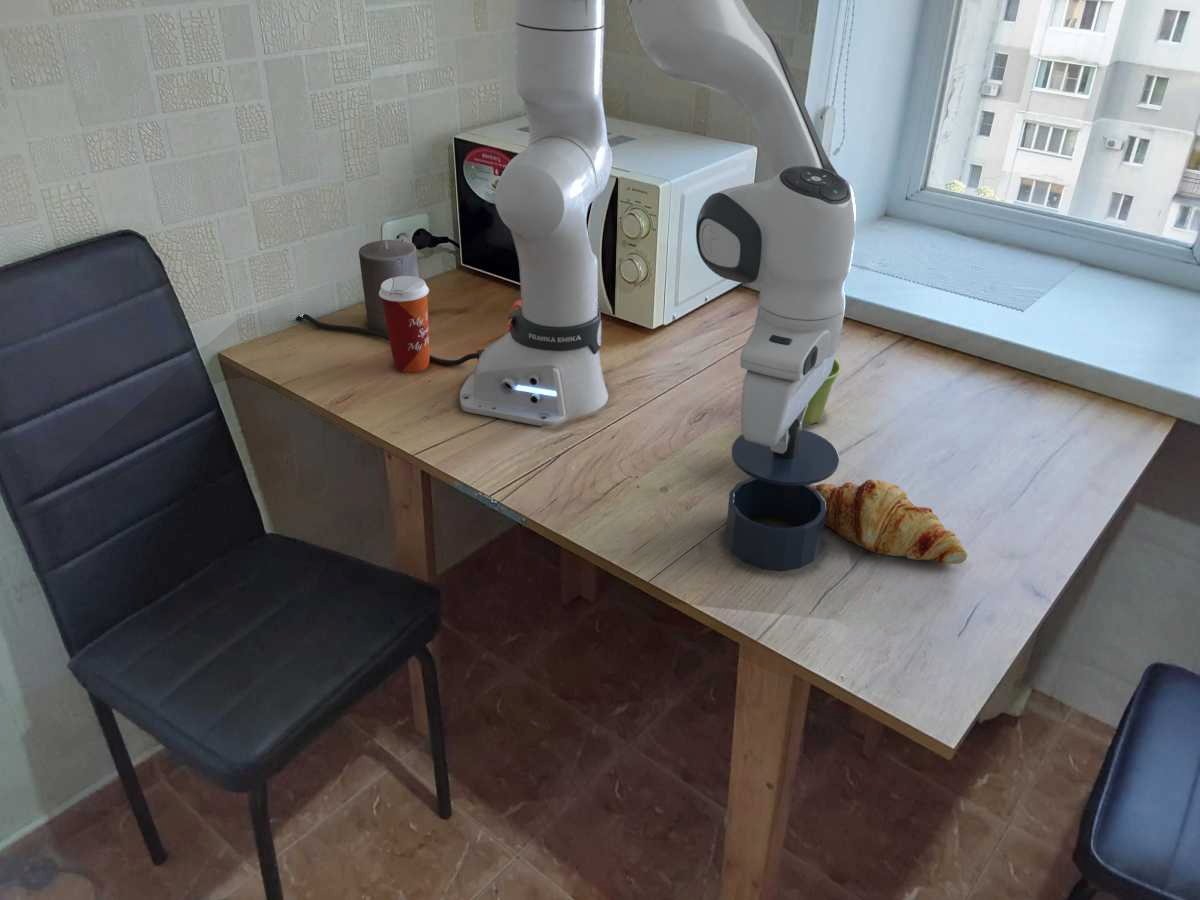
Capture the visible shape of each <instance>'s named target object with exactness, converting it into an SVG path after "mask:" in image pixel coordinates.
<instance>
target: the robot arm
mask: <svg viewBox="0 0 1200 900" xmlns="http://www.w3.org/2000/svg"><path fill="white" fill-rule="evenodd" d="M626 1H627V5H628V9H629V12H630V15H631V19H632V23H633V27H634V30H635V34H636V36H637V38H638V41H639V43H640V45H641V47H642V49H643V51H644V52H645V54H646V56H647V57H648V59H649V61H650V62H651V63H652V64H653V65H654V66H656V67H657V68H658V69H660V70H661V71H662V72H664V73H666V74H667V75H668V76H671V77H673V78H675V79H678V80H680V81H683V82H686V83H691V84H695V85H698V86H702V87H705V88H708V89H711V90H713V91H716V92H718V93H721V94H723V95H724V96H727V97H729V98H730V99H732V100H733V101H734V102H736V103H738V105H740V106H741V107H742V109H743V110H744V111H745V112H746V113H747V115H748V117H749V118H750V120H751V123H752V125H753V127H754V129H755V132H756V134H757V136H758V138H759V141H760V143H761V145H762V148H763V150H764V152H765V155H766V157H767V159H768V162H769V164H770V166H771V168H772V171H773V173H774V175H775V176H774V177H772V178H769V179H767V180H764V181H760V182H751V183H747V184H741V185H737V186H732V187H729V188H725V189H723V190H720V191H718V192H714V193H711V194H710V195H709V196H708V197H707V198H706V199H705V201H704V203H703V204H702V206H701V208H700V210H699V212H698V215H697V219H696V227H695V228H696V229H695V238H696V239H695V240H696V247H697V251H698V254H699V256H700V258H701V261H702V262H703V263H704V264H705V266H706V267H707V268H708V269H709V270H711V272H713V273H714V274H715V275H717V276H719V277H721V278H723V279H726V280H730V281H732V282H737V283H740V284H741V283H742V284H754V285H756V286H757V288H758V289H759V297H758V300H757V301H758V303H757V313H756V314H757V315H756V316H755V319H754V324H753V327H752V331H751V333H750V334H749V337H748V338H747V341H746V342H745V344H744V346H743V348H742V350H741V355H740V368H741V369H744V370H746V372H745V374H744V378H743V381H742V382H743V383H742V392H741V407H740V408H741V409H740V410H741V414H740V418H741V419H740V425H741V426H740V430H741V435H742V434H743V436H744V438H745V439H746V440H747V441H750V442H753V443H757V444H760V445H764V446H769V447H770V449H771V450H772V451H774V452H777V453H781V454H783V453H785V451H786V450H787V449H788V447H789V445H790V437H791V435H789V434H788V429H789V427H790V426H791V425H792V423H793V422H794V421H795V420H796V419H798V420H799V421H800V431H801V429H802V428H803V424H802V421H803V417H804V415H805V412H806V409H807V406H808V403H809V401H810V400H811V398H812V397H813V396H814V394H815V393H816V392H817V390H818V389H819V388H820V387H821V385H822V384H823V383H824V381H825V380H826V379H827V377H828V376H829V375H830V373H831V370H832V367H833V363H834V358H835V354H836V353H837V352H838V351H839V350H840V346H841V345H840V344H841V340H842V332H843V326H844V325H843V324H844V317H845V311H846V296H845V282H846V280H847V278H848V275H849V273H850V270H851V268H852V262H853V254H854V248H855V247H854V246H855V239H856V237H855V236H856V226H857V225H856V224H857V223H856V221H857V220H856V219H857V213H856V211H857V210H856V202H855V196H854V191H853V188H852V186H851V185H850V183H849V181H847V180H846V179H845V178H844V177H842V175H839V173H838V172H837V170H836V169H835V167H834V166H833V164H832V162H831V161H830V159H829V156H828V155H827V154H826V151H825V148H824V146H823V144H822V142H821V140H820V138H819V135H818V133H817V130H816V128H815V126H814V123H813V121H812V119H811V116H810V114H809V111H808V109H807V106H806V104H805V102H804V99H803V96H802V94H801V93H800V90H799V88H798V85H797V83H796V80H795V77H794V76H793V73H792V71H791V69H790V67H789V64H788V63H787V61H786V58H785V57H784V55H783V53H782V50H781V49H780V47H779V45H778V44H777V42H776V41H775V39H773V37H772V36H771V35H770V34H769V33H767V32H766V30H764V29H763V28H762V27H761V25H759V24H758V22H757V21H756V19H754V17H753V15H752V13H751V12H750V10H749V9H748V7H747V6H746V4H745V1H744V0H626ZM514 5H515V6H514V10H515V11H514V49H515V52H514V57H515V60H514V61H515V63H514V66H515V69H514V70H515V71H514V72H515V88H516V92H517V94H518V96H519V97H520V98H521V101H522V102H523V106H524V110H525V114H526V119H527V124H528V131H529V139H528V143H527V147H526V148H524V149H523V150H522V151H520V152H519V153H518V154H516V155H515V156H514V157H513V158H511V160H509V162H508V163H507V164H506V166H505V168H504V170H503V171H502V173H501V175H500V176H499V179H498V180H497V183H496V186H495V190H494V204H495V209H496V211H497V214H498V217H499V218H500V220H501V221H502V222H503V224H504V225H505V226H506V227H507V228H508V229H509V231H510V235H511V236H512V240H513V244H514V248H515V250H516V251H515V252H516V255H517V261H518V267H519V268H518V269H519V284H520V299H517V300H515V301H514V302H513V305H512V306H511V308H510V313H509V315H508V321H507V323H506V324H507V333H505V334H504V335H502V336H501V337H499V338H497V339H496V340H495V341H492V342H491V343H490V344H488V346H486V348H484V349H476V352H475V353H469V354H466V355H464V356H462V357H460V358H458V359H444V358H443V359H442V358H439V357H435V356H433V355H430V354H429V358H430V360H429V362H432V363H434V364H437V365H442V366H459V365H462V364H464V363H466V362H468V361H470V360H475V359H477V360H476V361H477V362H476V365H475V367H474V368H475V369H474V372H473V373H471V374H470V376H468V378H467V379H466V380H465V382H464V383H463V385H462V387H461V389H460V392H459V406H460V408H461V410H462V411H463V412H466V413H470V414H476V415H481V416H485V417H490V418H491V417H492V418H495V419H503V420H506V421H512V422H517V423H523V424H527V425H533V426H538V427H542V426H556V425H559V424H561V423H563V422H565V421H567V420H569V419H573V418H577V417H581V416H584V415H588V414H590V413H592V412H595V411H596V410H598V409H600V408H604V407H605V405H606V404H607V402H608V400H609V392H608V389H607V387H606V383H605V379H604V375H603V370H602V369H603V368H602V362H601V355H600V354H601V353H600V349H601V345H602V330H603V329H602V317H601V310H600V308H599V305H598V304H599V302H598V301H599V298H598V297H599V295H598V294H599V279H598V278H599V273H598V272H599V270H598V269H599V264H598V263H599V262H598V258H597V255H596V254H595V253H594V252H593V250H592V246H591V241H590V237H589V233H588V226H587V219H588V218H587V217H588V211H589V208H590V205H591V204H592V203H593V202H594V201H595V200H596V199H597V198H598V197H599V196H600V195H601V194H602V192H603V191H604V189H605V188H606V186H607V184H608V181H609V179H610V175H611V171H612V167H613V152H612V149H611V146H610V144H609V141H608V131H607V123H606V117H605V116H606V115H605V109H604V100H603V99H604V98H603V71H604V70H603V69H604V65H603V63H604V40H605V39H604V38H605V13H606V11H605V10H606V9H605V0H515V4H514ZM303 314H304V315H303V318H302V317H300V316H299V315H296V318H295V321H296V322H300V321H302V320H303V319H304V320H305V321H308V322H309V323H310V324H312V325H314V326H316V327H318V328H321V329H324V330H331V331H332V330H333V331H341V332H353V333H360V334H364V335H368V336H373V337H376V338H380V339H383V340H386V341H388V342H390V339H389V334H384V333H381V332H377V331H374V330H371V329H370V328H363V327H359V326H351V325H340V324H331V323H325V322H321V321H318V320H317V319H315V318H314V317H312V316H311V315H309V314H307V313H303ZM800 431H799V432H800Z"/></svg>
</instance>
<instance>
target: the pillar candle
mask: <svg viewBox="0 0 1200 900" xmlns="http://www.w3.org/2000/svg"><path fill="white" fill-rule="evenodd" d="M358 258H359V267H360V273H361V283H362V289H363V295H364V296H363V297H364V304H365V311H366V314H365V315H366V319H367V326H368V329H369V330H374V331H377V332H381V333H384V334H387V335H389V334H388V329H387V323H386V318H385V313H384V307H383V302H382V298H381V297H380V296H379V291H380V289H381V284H382V283H383V282H384V281H385V280H387V279H390V278H394V277H399V276H414V277H418V278H420V277H419V266H418V258H417V247H416V245H415V244H414V243H413V242H410V241H406V240H401V239H400V240H399V239H382V240H375V241H371V242H367V243H366V244H364V245H362V246H360V248H359V249H358Z"/></svg>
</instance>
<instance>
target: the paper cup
mask: <svg viewBox="0 0 1200 900" xmlns="http://www.w3.org/2000/svg"><path fill="white" fill-rule="evenodd" d="M418 277H419V276H418ZM418 277H414V276H399V277H394V278H390V279H387V280H385V281H384V282H383V283H382V284H381V289H380V291H379V296H380V297H381V298H382V302H383V307H384V313H385V318H386V323H387V329H388V334H387V335H389V339H390V341H389V344H390V349H391V355H392V359H393V363H394V368H395V370H397V371H399V372H402V373H408V374H409V373H418V372H421V371H424V370H426V369H427V368H428V367H429V366H430V361H429V360H430V358H429V355H430V327H429V307H428V306H429V305H428V303H429V302H428V301H429V300H428V294H429V292H430V287H428V285H427V283H426V281H425V280H424V279H423V278H421V277H419V278H418Z"/></svg>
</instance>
